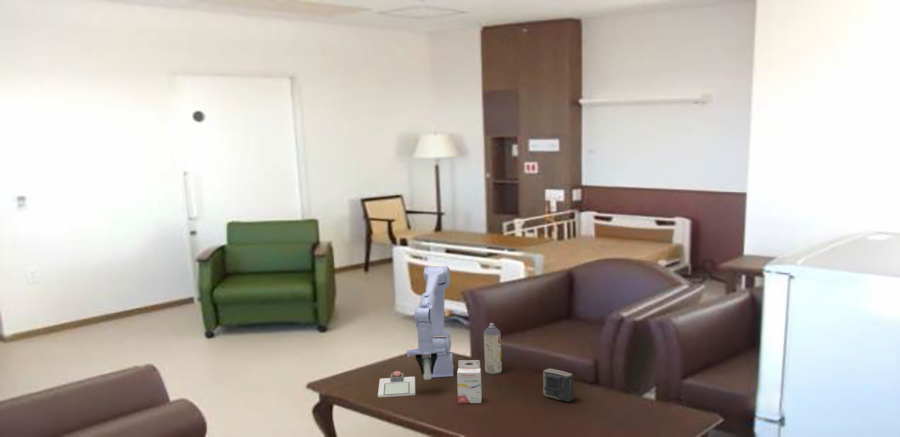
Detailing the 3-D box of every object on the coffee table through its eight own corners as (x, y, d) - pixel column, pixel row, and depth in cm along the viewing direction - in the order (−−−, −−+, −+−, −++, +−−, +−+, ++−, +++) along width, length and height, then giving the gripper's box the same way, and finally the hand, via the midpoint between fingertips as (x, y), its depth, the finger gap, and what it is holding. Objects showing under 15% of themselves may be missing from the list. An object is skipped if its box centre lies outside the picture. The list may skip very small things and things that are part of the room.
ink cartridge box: (457, 403, 259) (455, 364, 257) (459, 398, 264) (457, 359, 262) (481, 403, 258) (479, 364, 256) (482, 398, 263) (480, 359, 261)
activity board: (414, 378, 287) (414, 372, 286) (415, 395, 269) (414, 388, 269) (379, 380, 286) (379, 374, 286) (377, 397, 268) (377, 390, 268)
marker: (431, 376, 273) (430, 356, 272) (431, 379, 270) (430, 359, 269) (423, 377, 273) (422, 356, 272) (423, 380, 270) (422, 359, 269)
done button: (400, 375, 285) (400, 370, 285) (400, 378, 282) (400, 373, 282) (393, 376, 285) (393, 371, 285) (393, 378, 282) (392, 373, 282)
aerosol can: (503, 373, 287) (501, 325, 284) (486, 375, 287) (484, 326, 284) (500, 368, 294) (498, 320, 291) (484, 369, 293) (482, 322, 291)
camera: (576, 399, 258) (575, 372, 256) (567, 404, 254) (566, 377, 252) (550, 392, 266) (549, 366, 264) (540, 397, 261) (540, 370, 260)
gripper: (406, 343, 265) (408, 378, 267) (445, 340, 266) (446, 375, 268) (406, 337, 272) (408, 371, 274) (444, 335, 273) (446, 369, 275)
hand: (427, 373), depth 271 cm, fingers closed on marker, 3 cm apart
